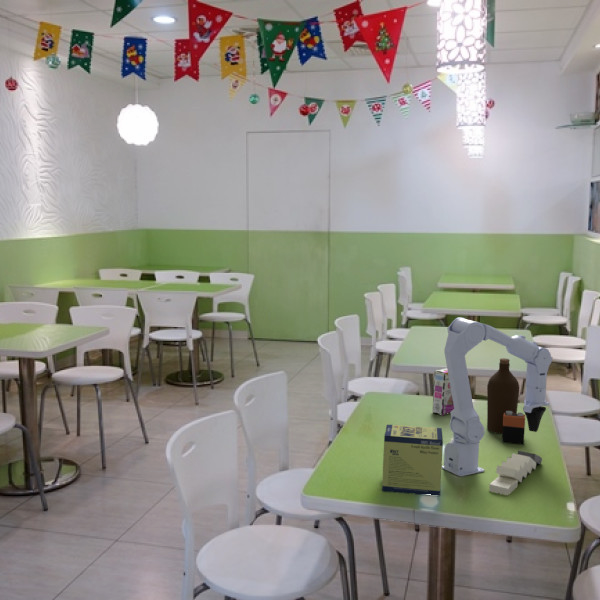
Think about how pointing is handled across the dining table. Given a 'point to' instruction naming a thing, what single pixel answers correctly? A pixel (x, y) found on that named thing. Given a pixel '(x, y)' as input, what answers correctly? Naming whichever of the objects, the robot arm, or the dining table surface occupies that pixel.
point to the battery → (513, 428)
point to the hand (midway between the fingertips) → (533, 430)
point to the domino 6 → (531, 456)
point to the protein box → (412, 459)
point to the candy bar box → (442, 393)
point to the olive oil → (501, 396)
